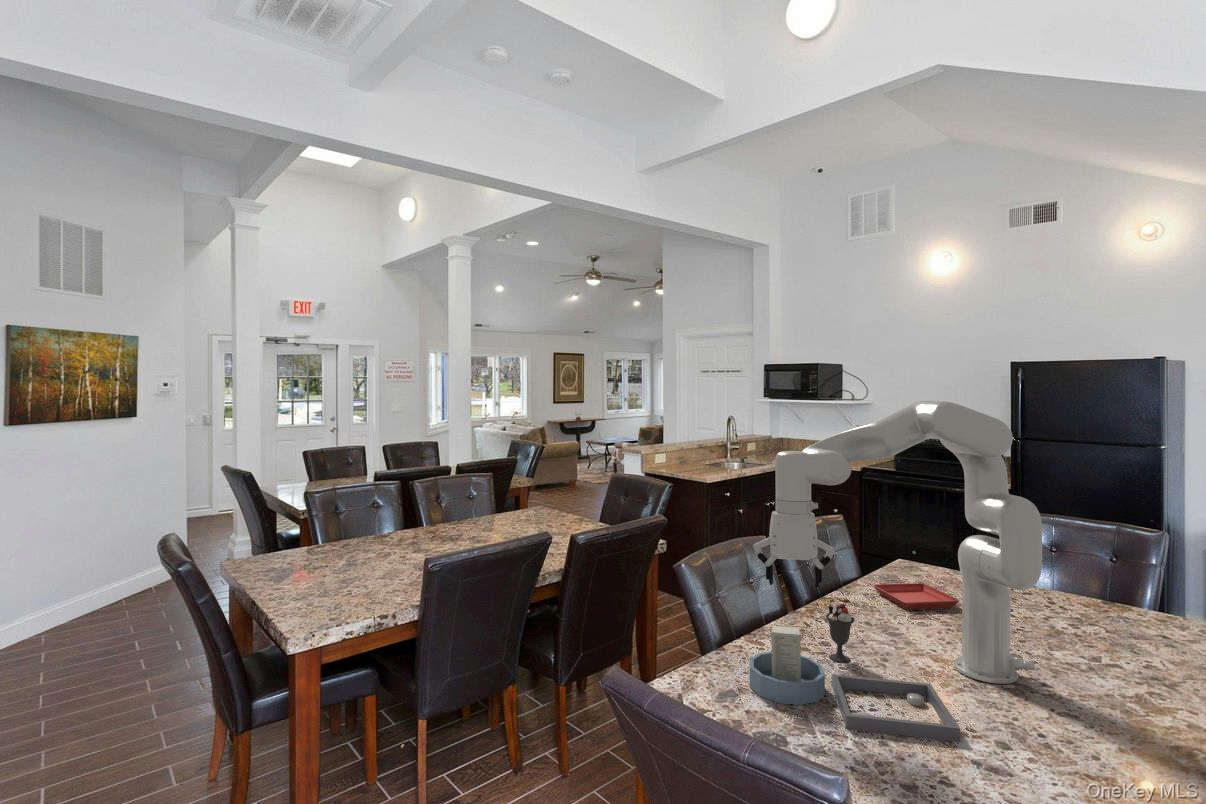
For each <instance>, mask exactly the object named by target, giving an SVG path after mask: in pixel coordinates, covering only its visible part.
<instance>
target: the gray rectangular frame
mask: <svg viewBox="0 0 1206 804" xmlns="http://www.w3.org/2000/svg"><path fill="white" fill-rule="evenodd" d="M831 687H832V689H833V693H834V696H835V699H836V702H838V703H837V705H838V708H839V711H840V714H841V717H842V720H843V723H844V726H845V729H847V730H853V731H864V732H870V733H879V734H886V735H887V734H889V735H897V736H907V737H915V738H920V739H921V738H923V739H931V740H932V739H933V740H940V741H948V742H949V741H950V742H957V743H961V735H962V734H961V730H962V729H961V727H960V726H959V724H958V723H957V721H956V720H955V718H954V717H953V714H951V712H950V710H949V709H948V708H947V706H946V705H945V703H944V702H943V701H942V699H941V697H940V695H939V694H938V693H937V691H936V690H935V689H934V686H932V684H931V683H926V682H917V681H916V682H915V681H904V680H897V679H896V680H894V679H887V678H885V679H883V678H874V677H865V676H864V677H863V676H855V675H844V674H843V675H842V674H833V673H832V674H831ZM843 689H845V690H852V691H853V690H854V691H862V690H863V692H871V691H873V692H872V693H874V691H875V693H881V692H885V693H884V694H891V693H892V695H902V696H907V694H909V693H915V694H919V695H921V696H923V697H924V698H927V700H928V702H929V704H931V707H932V708H933V709H934V711H935V714H936V715H937V716H938V718H939V719H940V721H941V722H942V723H937V722H927V721H918V720H909V719H900V718H891V717H884V716H883V717H882V716H873V715H872V716H866V715H857V714H856V713H852V712H851V711H850V707H849V705H848V702H847V700H846V699H847V698H846V697H845V696H846V695H845V694H844V691H843Z"/></svg>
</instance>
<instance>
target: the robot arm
mask: <svg viewBox="0 0 1206 804" xmlns="http://www.w3.org/2000/svg"><path fill="white" fill-rule="evenodd" d="M1013 437H1014V436H1013V433H1012V431H1011V428H1010V427H1009V426H1008V425H1007V424H1006V423H1005V422H1003V421H1002V420H1001V419H999V418H996V417H994V416H992V415H988V414H985V413H982V412H980V411H977V410H975V409H972V408H969V407H967V406H964V405H961V404H958V403H955V402H951V401H942V400H939V401H938V400H937V401H936V400H922V401H921V400H920V401H917V402H914V403H911V404H909V405H906V406H904V407H902V408H900V409H898V410H896V411H893V412H891V413H889V414H888V415H886V416H883V417H881V418H878V419H877V420H875V421H873V422H870V423H868V424H865V425H861V426H859V427H854V428H852V429H849V430H845V431H842V432H839V433H837V434H833V435H831V436H828V437H825V438H823V439H821V440H819V441H816V442H815V443H813V444H811V445H808V446H806V448H804V449H803V450H802V451H801V450H785V451H784V450H783V451H780V452H778V453H777V454H776V455H775V463H774V464H775V468H774V469H775V510H774V511H773V510H772V512H771V516H770V522H769V523H770V524H769V533H768V535H769V536H768V537H766V538H764V539H762V540H759V541H758V542H756V543H753V544H752V547H753V550H754V552H755V554H756V557H757V558H758V559H759V560H760V561H761V562H762V563H763V564H764V565H765V580H766V581H768V583H769V586H772V585H774V565H773V563H774V562H776V560H778V559H779V560H791V561H792V560H793V561H812V563H813V564H814V566H813V585H814V587H815V588H818V589H819V588H820V584H821V583H823V580H822V579H823V571H822V570H824V567H825V566H827V564H829V563H830V562H831V559H832V558H833V556H834V554H835V552H836V550H835V548H834V547H833V546H831V545H829V544H827V543H825V542H824V541H822V540H820V539H818V530H817V522H816V517H815V513H813V512H812V511H813V510H818V509H819V503H818V502H814V501H813V500H812V484H814V485H815V484H817V485H825V486H836V485H841V484H843V483H844V482H846V481H847V480H848V479H849V478H850V476H851V474H852V466H851V465H852V464H851V463H855V462H856V463H857V462H862V461H863V462H864V461H875V460H877V461H878V460H883V459H887V458H891V457H893V456H896V455H897V454H899V453H902V452H904V451H905V450H907V449H910V448H911V447H913V446H916V445H918V444H920V443H922V442H923V441H926V440H930V439H932V440H933V439H934V440H939V441H940V443H941V444H942V445H943V446H944V447H945V448H946V449H947V450H948V451H950V452H951V453H953V455H954V456H955V457H956V458H957V459H958V460H959V462H960V464H961V467H962V470H963V475H964V477H963V478H964V515H965V519H966V521H967V523H968V524H969V525H970V526H971V527H973V529H974V528H975V529H977V530H979V531H983V532H986V533H990V534H993V535H996V536H998V537H999V538H996V537H992V536H989V535H985V534H984V535H982V534H977V535H970V536H967V537H966V538H965V539H964V540H963V541H961V543H960V544H959V547H958V551H957V561H958V565H959V571H960V576H961V586H962V587H961V588H962V590H961V591H962V603H961V604H962V605H961V606H962V609H961V610H962V612H961V613H962V614H961V615H962V616H961V656H958V657H956V658H955V659H954V660H953V665H954V668H955V669H956V671H958V672H959V673H961V674H963V675H964V676H966V677H968V678H970V679H974V680H978V681H981V682H984V683H990V684H997V685H998V684H1000V685H1004V684H1005V685H1008V684H1014V683H1016V682H1018V679H1019V673H1018V671H1019V670H1024V671H1035V664H1034V662H1033V661H1031V660H1030V661H1028V660H1023V658H1022V657H1016V656H1015V657H1014V656H1012V655H1011V610H1012V609H1011V606H1012V604H1011V603H1012V601H1011V596H1010V592H1009V589H1012V590H1016V591H1028V590H1030V589H1032V588H1033V587H1035V586H1036V584H1037V583H1038V582H1039V580H1040V577H1041V575H1042V570H1043V569H1042V568H1043V525H1042V524H1043V522H1042V521H1043V520H1042V516H1041V514H1040V511H1039V510H1038V508H1037V506H1036V505H1035V504H1034V503H1033V502H1032V501H1031V500H1029V499H1027V498H1025V497H1023V496H1019V495H1018V496H1017V495H1013V494H1010V492H1009V484H1008V483H1009V482H1008V472H1007V470H1008V469H1007V467H1006V466H1007V465H1006V462H1005V460H1004V458H1003V455H1004V454H1006V453H1007V452H1008V451H1009V449H1011V447H1012V445H1013ZM767 546H769V549H768V550H769V554H768V555H767V556H766V555H765V553H763V551H762V548H764V547H767ZM819 548H820V549H822V550H823V551H825V554H824V555H823V556H822V557H821V558H820V559H819V558H818V555H819Z"/></svg>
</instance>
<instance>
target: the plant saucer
mask: <svg viewBox="0 0 1206 804" xmlns="http://www.w3.org/2000/svg"><path fill="white" fill-rule="evenodd" d="M873 588H874V589H875V590H876V592H877V593H878V594H879V595H880V594H881V596H882V597H883V598H885V597H886V598H885V599H887V600H889V601H891V602H892V601H893V602H892V603H894V604H896V605H898V606H899V605H900V606H899V607H901V608H903V609H905V610H907V609H909V610H908V611H911V610H910V609H920V610H940V609H941V608H948V609H952V608H953V607H954V606H956V605H957V604H958V603H959V602H960V601H961V600H960V599H958V598H957V597H954V596H952V595H950V594H947V593H945V592H943V591H941V590H940V589H937V588H935V587H932V586H931V585H929V584H926V583H925V582H924V583H923V582H922V583H921V582H920V583H918V582H916V583H911V582H910V583H887V584H873ZM941 610H942V609H941Z"/></svg>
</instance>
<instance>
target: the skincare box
mask: <svg viewBox="0 0 1206 804" xmlns="http://www.w3.org/2000/svg"><path fill="white" fill-rule="evenodd" d="M770 630H771V632H770V634H771V636H770V637H771V652H772V678H775V679H778V680H783V681H793V682H801V655H802V654H801V653H802V651H801V644H802V643H801V641H802V640H801V628H800V627H797V626H789V625H788V626H787V625H786V626H785V625H775V624H772V625H771V629H770Z"/></svg>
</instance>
